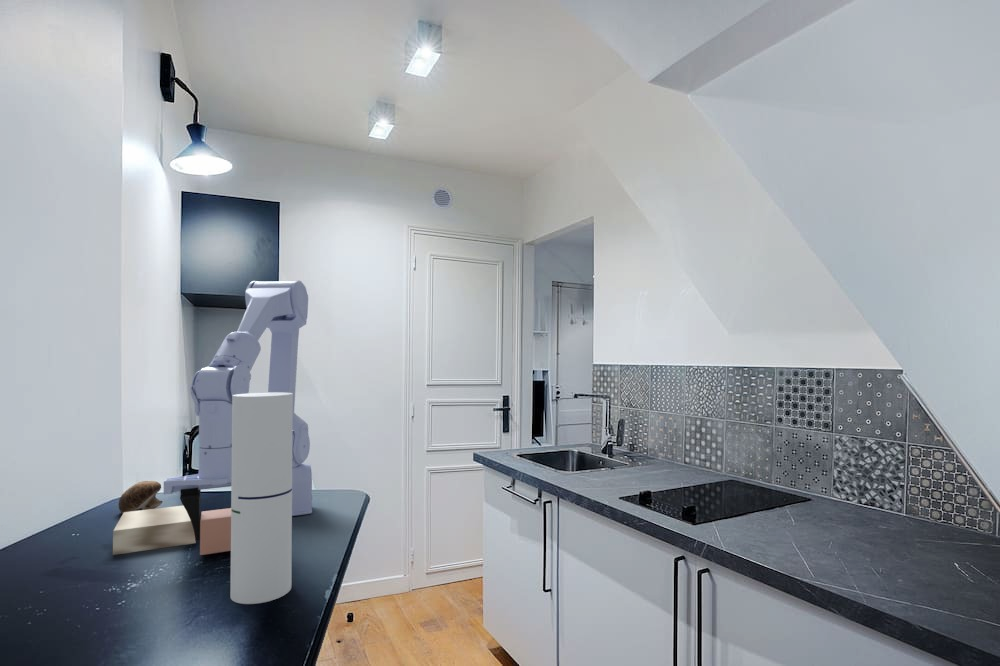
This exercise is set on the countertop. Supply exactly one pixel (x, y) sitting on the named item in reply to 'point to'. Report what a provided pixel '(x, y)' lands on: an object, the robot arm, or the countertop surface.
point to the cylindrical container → (261, 497)
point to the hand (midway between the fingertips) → (219, 535)
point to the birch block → (152, 530)
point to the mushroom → (140, 497)
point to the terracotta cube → (215, 531)
